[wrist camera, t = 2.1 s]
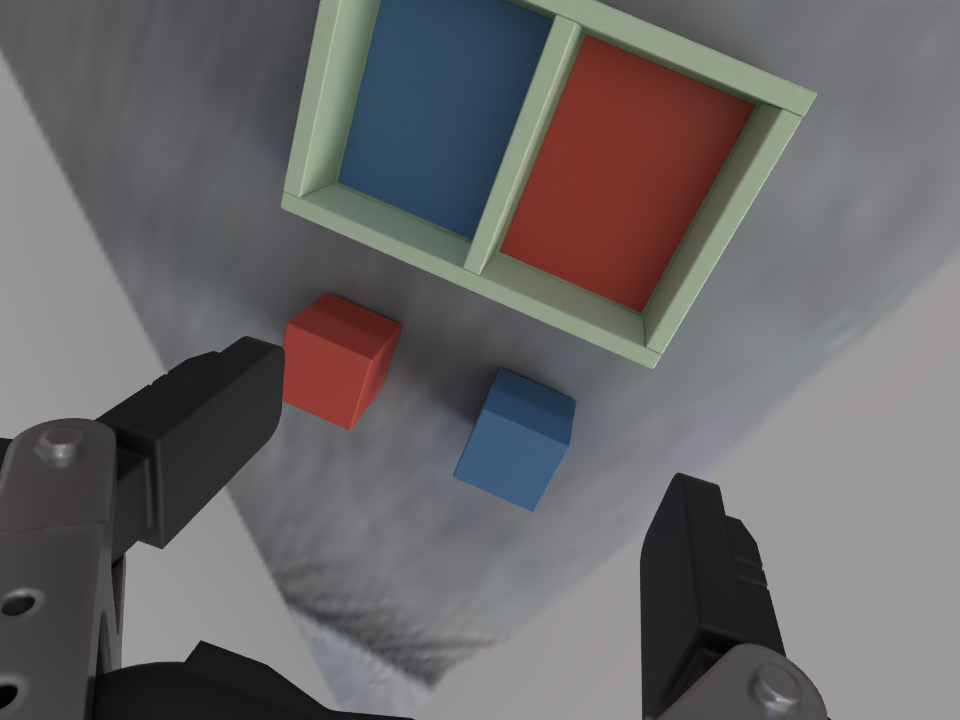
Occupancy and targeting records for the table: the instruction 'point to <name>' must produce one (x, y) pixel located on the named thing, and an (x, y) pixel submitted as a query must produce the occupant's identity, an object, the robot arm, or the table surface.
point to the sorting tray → (537, 154)
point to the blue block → (517, 440)
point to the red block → (337, 359)
